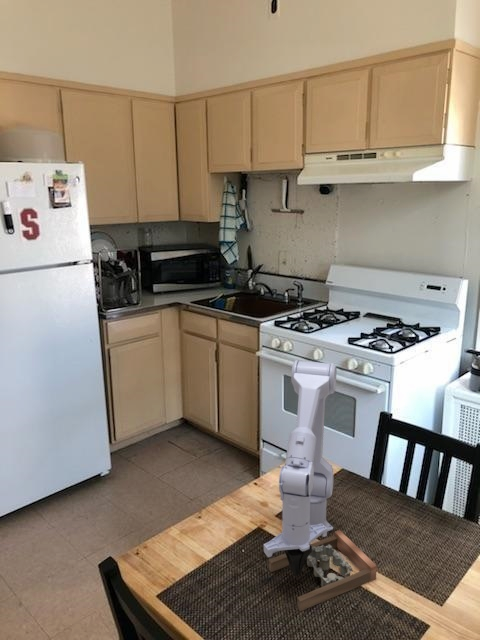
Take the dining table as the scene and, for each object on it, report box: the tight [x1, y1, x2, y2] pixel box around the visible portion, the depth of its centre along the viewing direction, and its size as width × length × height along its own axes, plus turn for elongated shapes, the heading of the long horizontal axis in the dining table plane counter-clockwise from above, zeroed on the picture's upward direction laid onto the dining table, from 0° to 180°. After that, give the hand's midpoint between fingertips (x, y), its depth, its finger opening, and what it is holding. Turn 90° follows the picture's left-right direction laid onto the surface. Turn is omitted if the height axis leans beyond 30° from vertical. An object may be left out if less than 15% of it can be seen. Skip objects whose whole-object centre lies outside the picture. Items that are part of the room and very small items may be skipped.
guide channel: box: [267, 529, 378, 612], centre depth 115 cm, size 13×20×4 cm
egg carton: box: [306, 544, 353, 587], centre depth 116 cm, size 11×8×4 cm
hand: (295, 572), depth 112 cm, fingers closed
